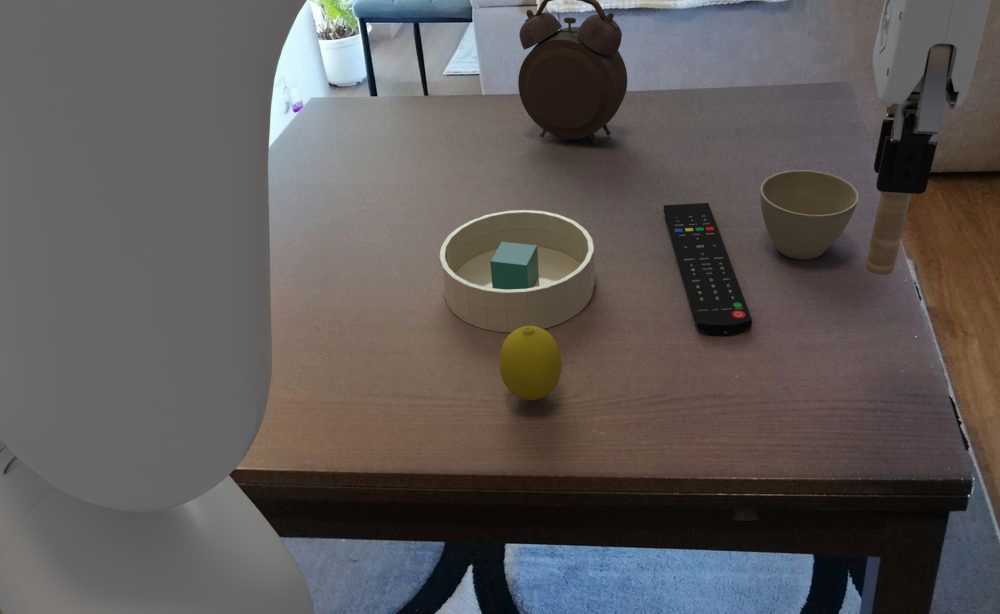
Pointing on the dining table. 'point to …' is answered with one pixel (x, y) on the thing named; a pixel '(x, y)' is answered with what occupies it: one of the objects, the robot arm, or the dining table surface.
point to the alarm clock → (572, 73)
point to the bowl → (501, 310)
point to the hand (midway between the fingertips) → (898, 180)
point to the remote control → (707, 270)
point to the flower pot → (806, 211)
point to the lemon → (530, 363)
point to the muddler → (888, 230)
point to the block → (514, 266)
